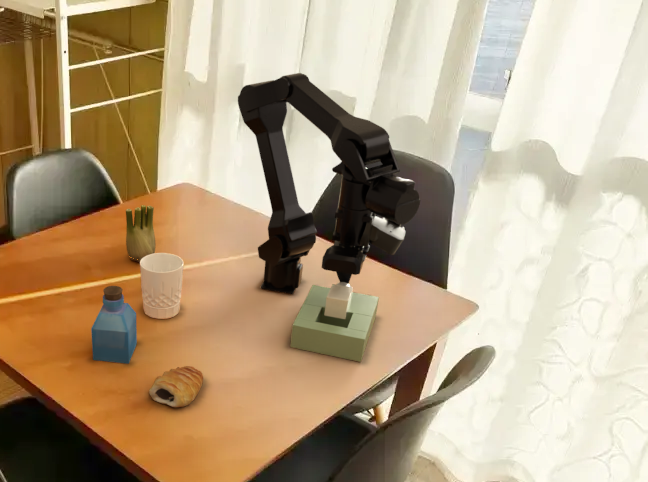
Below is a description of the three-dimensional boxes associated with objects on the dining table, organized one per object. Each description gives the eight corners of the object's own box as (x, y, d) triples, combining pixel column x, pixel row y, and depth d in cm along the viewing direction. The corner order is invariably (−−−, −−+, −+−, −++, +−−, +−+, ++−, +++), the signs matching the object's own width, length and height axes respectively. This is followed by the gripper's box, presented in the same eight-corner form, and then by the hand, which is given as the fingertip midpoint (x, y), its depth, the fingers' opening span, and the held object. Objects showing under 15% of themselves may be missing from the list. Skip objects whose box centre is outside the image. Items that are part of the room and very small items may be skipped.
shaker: (345, 319, 127) (347, 301, 125) (324, 315, 129) (326, 297, 127) (352, 301, 133) (354, 283, 131) (331, 297, 134) (334, 279, 132)
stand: (290, 347, 128) (292, 324, 126) (310, 305, 140) (312, 284, 138) (360, 362, 124) (364, 339, 122) (375, 318, 136) (379, 296, 134)
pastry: (178, 370, 123) (179, 351, 121) (213, 384, 119) (215, 364, 117) (145, 399, 116) (145, 379, 114) (182, 414, 113) (183, 394, 111)
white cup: (189, 304, 141) (190, 257, 136) (172, 324, 135) (173, 275, 130) (151, 296, 144) (150, 249, 139) (133, 315, 138) (132, 267, 133)
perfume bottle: (128, 363, 124) (127, 301, 118) (93, 359, 126) (89, 297, 119) (136, 343, 130) (135, 283, 123) (102, 340, 131) (99, 279, 124)
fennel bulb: (125, 263, 156) (124, 210, 150) (130, 253, 160) (128, 200, 154) (153, 265, 155) (152, 211, 149) (156, 255, 159) (156, 202, 153)
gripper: (399, 233, 114) (383, 320, 123) (412, 190, 129) (398, 270, 137) (326, 222, 118) (316, 307, 126) (347, 182, 133) (337, 260, 141)
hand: (344, 285), depth 133 cm, fingers closed
